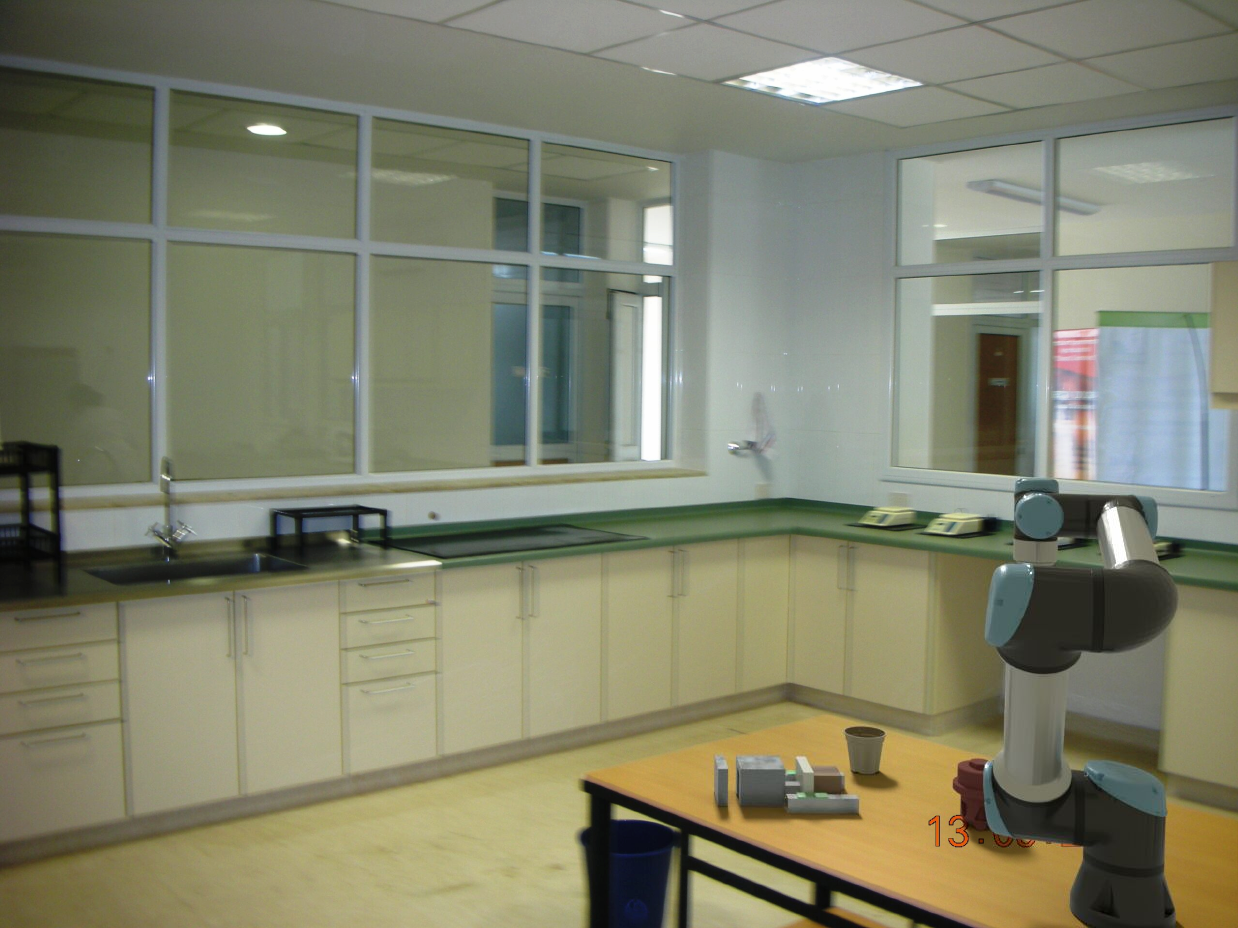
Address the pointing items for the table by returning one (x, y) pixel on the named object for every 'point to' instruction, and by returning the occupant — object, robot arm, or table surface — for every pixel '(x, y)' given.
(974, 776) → the mechanical component
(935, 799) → the table surface
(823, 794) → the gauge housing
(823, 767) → the walnut block
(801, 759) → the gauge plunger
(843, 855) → the table surface
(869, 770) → the flower pot
